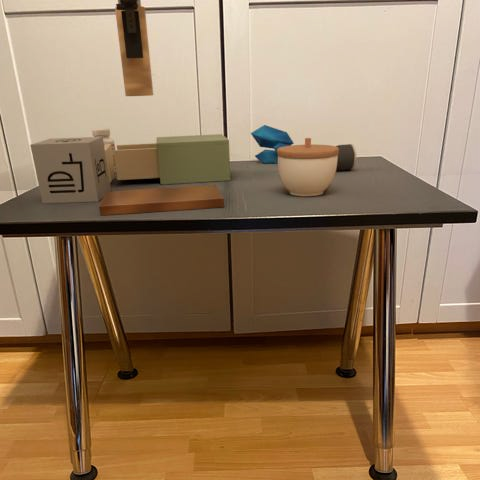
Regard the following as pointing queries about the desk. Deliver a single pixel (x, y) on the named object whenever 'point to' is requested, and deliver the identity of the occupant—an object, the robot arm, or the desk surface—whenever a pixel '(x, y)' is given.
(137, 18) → the robot arm
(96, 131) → the supplement bottle
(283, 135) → the crystal
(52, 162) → the icon cube
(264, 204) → the desk surface
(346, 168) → the flashlight
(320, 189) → the trinket box
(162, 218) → the desk surface
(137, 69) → the pepper mill
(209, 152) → the cabinet
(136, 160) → the drawer
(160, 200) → the cutting board
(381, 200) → the desk surface
